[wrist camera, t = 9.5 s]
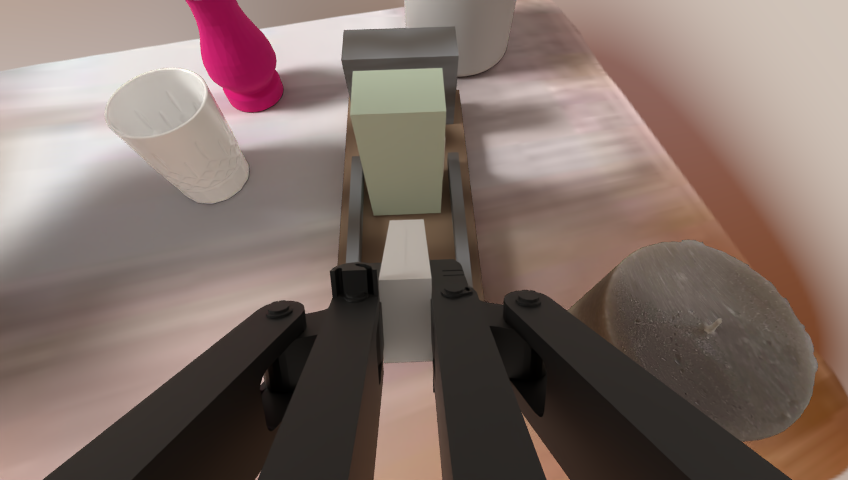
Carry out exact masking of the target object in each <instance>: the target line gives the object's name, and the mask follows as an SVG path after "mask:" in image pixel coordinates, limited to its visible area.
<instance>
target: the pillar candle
mask: <svg viewBox="0 0 848 480" xmlns="http://www.w3.org/2000/svg"><path fill="white" fill-rule="evenodd" d="M567 311H568V312H569V313H571V314H572V315H573V316H575V317H576V318H577V319H579V320H580V321H581V322H583V323H584V324H585V325H587V326H588V327H589V328H591V329H592V330H593V331H595V332H596V333H597V334H599V335H600V336H601V337H603V338H604V339H605V340H607V341H608V342H609V343H611V344H612V345H613V346H615V347H616V348H617V349H619V350H620V351H621V352H623V353H624V354H625V355H627V356H628V357H629V358H631V359H632V360H633V361H635V362H636V363H637V364H639V365H640V366H641V367H643V368H644V369H645V370H647V371H648V372H649V373H651V374H652V375H653V376H655V377H656V378H657V379H659V380H660V381H661V382H663V383H664V384H665V385H667V386H668V387H669V388H671V389H672V390H673V391H675V392H676V393H677V394H679V395H680V396H681V397H683V398H684V399H685V400H687V401H688V402H689V403H691V404H692V405H693V406H695V407H696V408H697V409H699V410H700V411H701V412H703V413H704V414H705V415H707V416H708V417H709V418H711V419H712V420H713V421H715V422H716V423H717V424H719V425H720V426H721V427H723V428H724V429H725V430H727V431H728V432H729V433H731V434H732V435H733V436H735V437H736V438H737V439H739V440H740V441H741V442H744V441H754V440H760V439H764V438H768V437H771V436H773V435H777V434H779V433H781V432H783V431H785V430H786V429H787V428H788V427H790V425H792V424H793V423H794V422H795V421H796V420H797V419H798V418H800V417H801V414H802V413H803V412H804V410H805V408H806V407H807V405H808V404H809V401H810V399H811V396H812V393H813V386H814V378H815V372H816V371H817V368H818V363H817V361H816V358H815V357H814V355H813V352H814V348H813V347H814V346H813V344H812V341H811V338H810V336H809V334H808V333H807V332H806V331H805V327H804V325H802V324H801V323H800V322H799V320H798V319H797V317H796V316H795V314H794V312H793V310H792V308H791V307H790V303H789V302H788V301H787V299H786V298H783V297H782V296H781V295H780V294H779V293H778V291H777V290H776V288H775V287H774V285H773V284H772V283H771V282H770V281H767V280H766V279H765V278H764V277H762V276H761V275H760V274H758V273H757V272H756V271H754V270H752V269H751V268H750V267H749V265H747V264H745V263H743V262H742V261H740V260H738V259H736V258H735V257H732V256H730V255H728V254H727V253H725V252H722V251H720V250H716V249H714V248H711V247H708V246H705V245H704V244H703V242H698V241H696V240H682V242H661V243H658V244H653V245H650V246H646V247H642V248H640V249H638V250H637V251H635V252H634V253H632V254H630V255H629V256H628V257H627V258H625V259H624V260H623V261H622V262H621V263H620V264H619V265H618V266H616V267H615V268H614V269H613V270H612V271H611V272H610V273H609V274H607V275H606V276H605V277H604V278H603V279H602V280H601V281H600V282H599V283H598V284H596V285H595V286H594V287H593V288H592V289H591V290H590V291H589V292H587V293H586V294H585V295H584V296H583V297H582V298H581V299H580V300H579V301H577V302H576V303H575V304H574V305H573V306H572V307H571V308H570V309H569V310H567Z"/></svg>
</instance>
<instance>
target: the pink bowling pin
mask: <svg viewBox="0 0 848 480" xmlns="http://www.w3.org/2000/svg"><path fill="white" fill-rule="evenodd" d="M186 2H187V3H188V5H189V7H190V8H191V11H192V13H193V15H194V17H195V19H196V22H197V25H198V29H199V33H200V47H201V56H202V60H203V64H204V66H205V68H206V70H207V72H208V74H209V76H210V78H211V79H212V80H213V81H214V82H215V83H216V84H218V85H219V86H221V87H223V90H224V93H225V94H226V96H227V98H228V100H229V102H230V103H231V105H232V106H234V107H235V108H236V109H238V110H241V111H244V112H259V111H262V110H266V109H267V108H269V107H271V106H273V105H274V104H276V103H277V102H278V101H279V99H280V98H281V96H282V93H283V85H282V82H281V79H280V77H279V75H278V72H277V71H276V70H275V68H276V55H275V52H274V50H273V48H272V46H271V44H270V42H269V41H268V39H267V38H266V37H265V35H264V34H263V33H262V32H261V31H260V30H259V29H258V28H257V27H256V26H255V25H254V24H253V22H252V21H250V19H249V18H248V17H247V16H246V15H245V14H244V12H243V11H242V10H241V8H240V7H239V5H238V3H237V1H236V0H186Z"/></svg>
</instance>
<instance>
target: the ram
mask: <svg viewBox="0 0 848 480" xmlns="http://www.w3.org/2000/svg"><path fill="white" fill-rule="evenodd" d="M350 117H351V121H352V125H353V130H354V134H355V138H356V142H357V147H358V151H359V155H360V159H361V164H362V168H363V172H364V176H365V181H366V185H367V189H368V194H369V198H370V202H371V206H372V211H373V215H374V216H378V215H402V214H427V213H441V198H442V180H443V174H444V156H445V126H446V103H445V92H444V82H443V71H442V68H426V69H399V70H371V71H353V76H352V92H351V108H350Z"/></svg>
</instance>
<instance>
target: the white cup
mask: <svg viewBox="0 0 848 480" xmlns="http://www.w3.org/2000/svg"><path fill="white" fill-rule="evenodd" d="M105 121H106V123H107V125H108V127H109V128H110V129H111V130H112V131H113V132H114V133H115V134H116V135H118V136H119V137H120V138H121V139H122V140H123V141H124V142H125V143H126V144H127V145H129V146H130V147H131V148H132V149H133V150H134V151H135V152H136V153H137V154H138V155H139V156H141V157H142V158H143V159H144V160H145V161H146V162H147V163H148V164H149V165H150V166H151V167H153V168H154V169H155V170H156V171H157V172H158V173H160V174H161V175H162V176H163V177H164V178H165V179H166V180H168V181H169V182H170V183H171V184H173V185H174V186H176V187H177V188H178V189H179V190H180V191H181V192H182V193H183V194H184V195H185V196H186V197H188V198H190V199H192V200H193V201H195V202H197V203H209V204H214V203H217V202H220V201H223V200H227V199H229V198H230V197H232V196H233V195H234V194H236V193H237V192H239V191H240V190H241V189H242V187H243V186H244V184H245V182H246V181H247V179H248V174H249V165H248V163H247V161H246V160H245V158H244V156H243V154H242V153H241V150H240V148H239V146H238V142H237V141H236V139H235V136H234V134H233V132H232V130H231V128H230V127H229V125H228V123H227V121H226V119H225V117H224V116H223V114H222V112H221V110H220V108H219V106H218V105H217V103H216V101H215V99H214V97H213V96H212V94H211V92H210V90H209V88H208V86H207V84H206V83H205V81H204V80H203V78H202V77H200V76H199V75H198V74H196V73H194V72H192V71H190V70H186V69H182V68H162V69H156V70H152V71H149V72H146V73H143V74H141V75H138V76H136V77H134V78H132V79H131V80H129V81H127V82H126V83H124V84H123V85H122V86H121V87H119V88H118V89H117V90H116V91H115V92H114V94H113V95H112V96H111V98H110V99H109V101H108V103H107V105H106V108H105Z"/></svg>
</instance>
